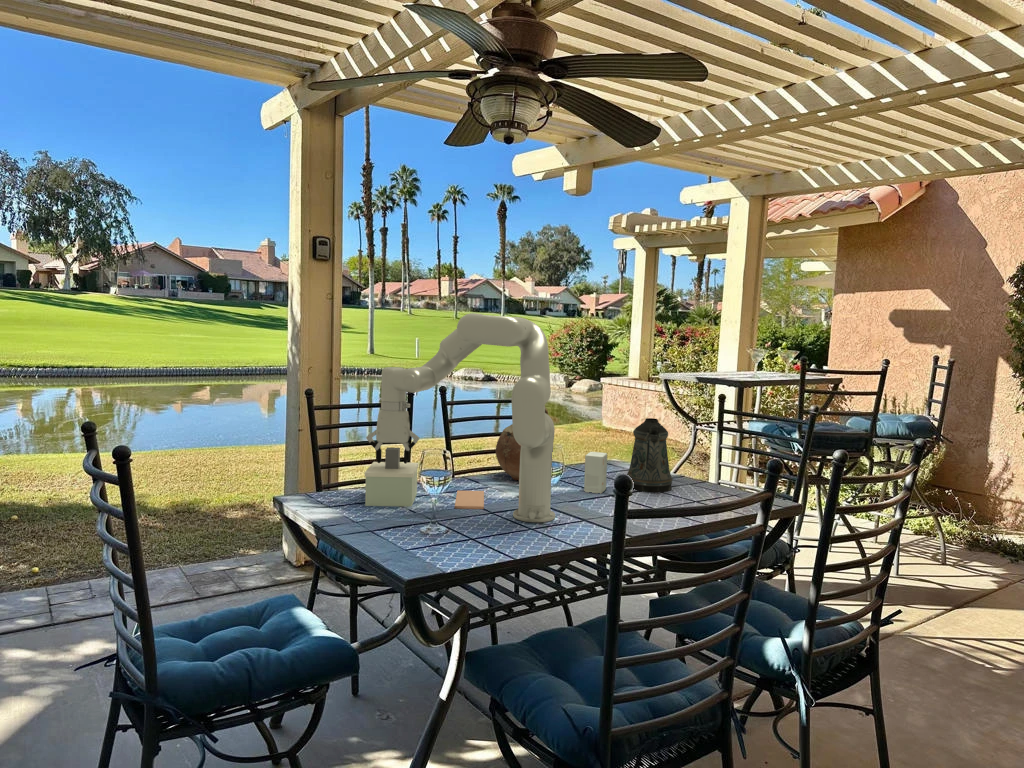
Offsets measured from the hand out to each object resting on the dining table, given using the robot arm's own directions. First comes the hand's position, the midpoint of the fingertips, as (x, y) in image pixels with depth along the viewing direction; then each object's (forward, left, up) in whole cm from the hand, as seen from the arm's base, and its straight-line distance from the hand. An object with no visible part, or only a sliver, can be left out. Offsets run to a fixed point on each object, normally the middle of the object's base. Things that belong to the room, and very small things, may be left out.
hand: (392, 462), depth 214 cm
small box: (+21, -68, -13) cm, 72 cm away
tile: (+4, -20, -13) cm, 24 cm away
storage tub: (0, 0, -13) cm, 13 cm away
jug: (+38, -44, -13) cm, 60 cm away
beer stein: (+26, -89, -13) cm, 94 cm away
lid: (0, 0, -4) cm, 4 cm away
